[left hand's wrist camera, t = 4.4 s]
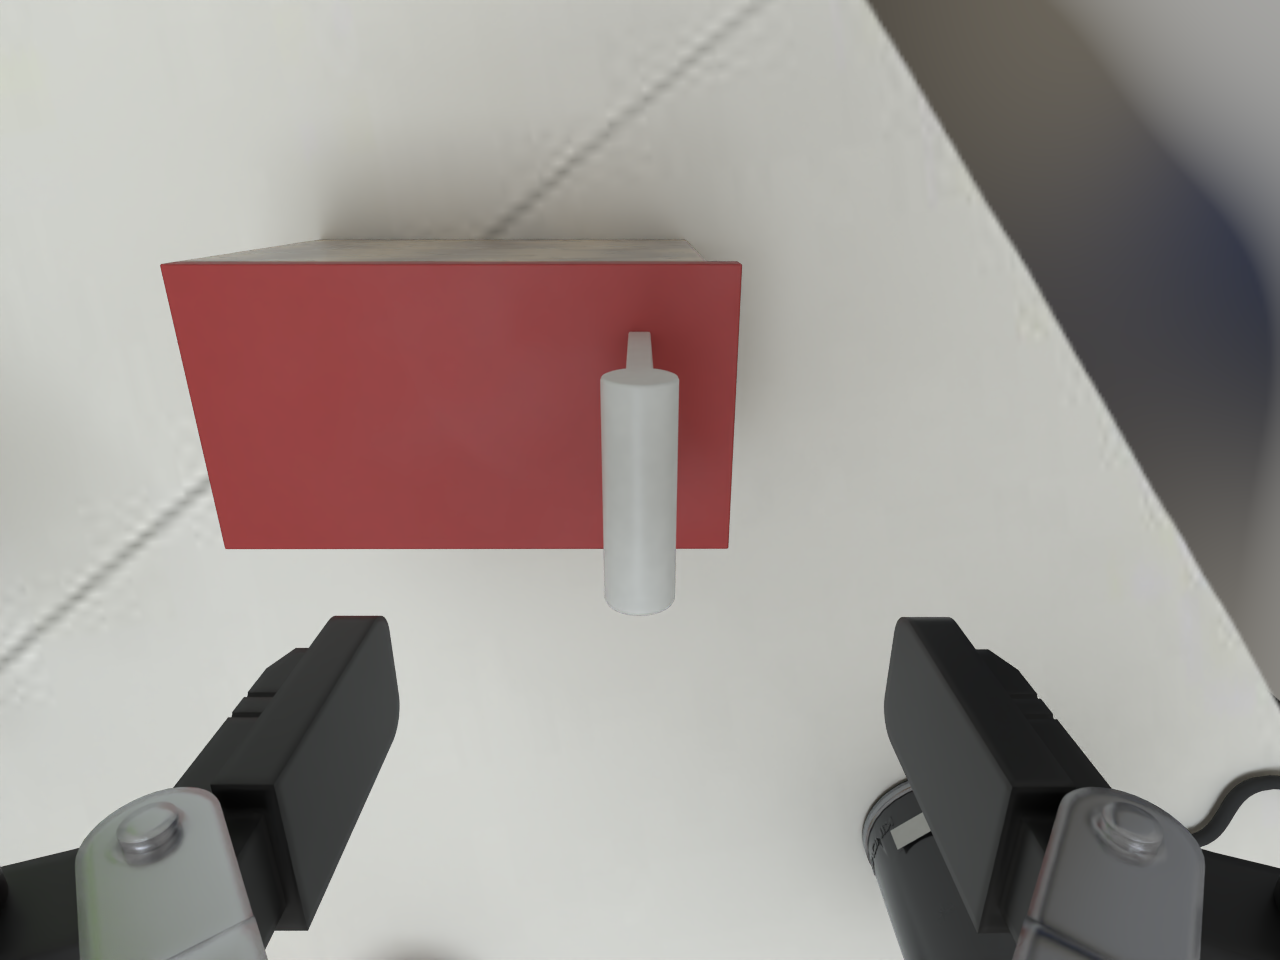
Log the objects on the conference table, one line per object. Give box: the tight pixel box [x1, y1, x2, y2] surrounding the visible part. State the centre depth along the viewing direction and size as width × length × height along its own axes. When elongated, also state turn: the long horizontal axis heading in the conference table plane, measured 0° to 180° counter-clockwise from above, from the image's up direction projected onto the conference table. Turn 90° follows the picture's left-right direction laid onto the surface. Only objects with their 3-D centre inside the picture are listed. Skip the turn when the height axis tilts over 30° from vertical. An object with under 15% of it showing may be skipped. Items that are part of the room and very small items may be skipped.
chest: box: [180, 240, 706, 262], centre depth 31 cm, size 17×10×11 cm, turn 90°
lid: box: [160, 261, 742, 616], centre depth 22 cm, size 18×10×9 cm, turn 90°
